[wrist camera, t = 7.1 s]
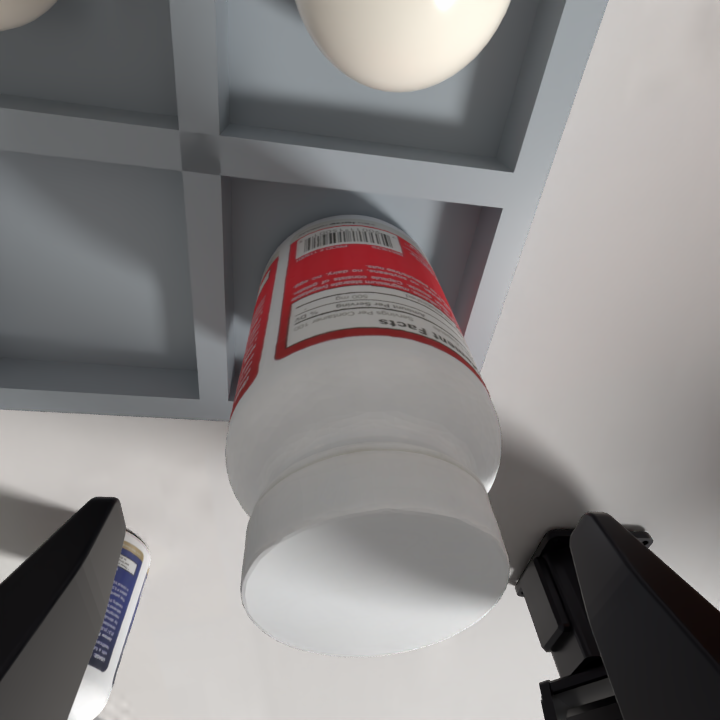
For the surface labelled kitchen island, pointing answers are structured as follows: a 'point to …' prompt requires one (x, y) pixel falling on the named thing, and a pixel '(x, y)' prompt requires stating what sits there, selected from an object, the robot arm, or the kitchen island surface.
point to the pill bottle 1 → (113, 630)
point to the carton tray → (242, 184)
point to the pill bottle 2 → (362, 450)
